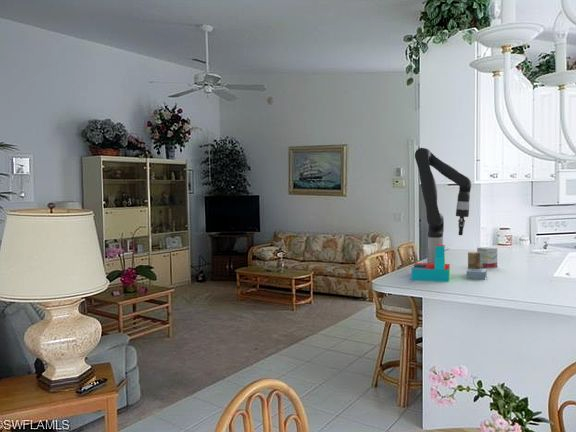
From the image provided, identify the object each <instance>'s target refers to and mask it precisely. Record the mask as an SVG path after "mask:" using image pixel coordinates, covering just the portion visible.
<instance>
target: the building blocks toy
mask: <svg viewBox="0 0 576 432" xmlns="http://www.w3.org/2000/svg"><path fill="white" fill-rule="evenodd" d="M445 248H446V246H445V244H443V245H435V264H432V263H427V262H426V263H425V262H415V263H413V267H412V268H411V281H422V282H424V281H425V282H440V283H441V282H442V283H443V282H444V283H448V282H449V281H450V277H451V276H450V275H451V272H450V269H451V267H450V265H451V264H450V263H446V257H445V256H446V255H445V254H446V252H445V251H446V249H445ZM449 276H450V277H449Z"/></svg>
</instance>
